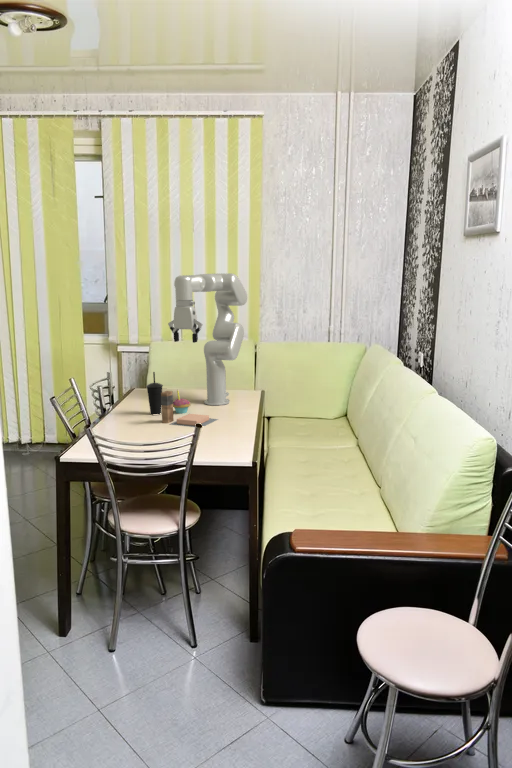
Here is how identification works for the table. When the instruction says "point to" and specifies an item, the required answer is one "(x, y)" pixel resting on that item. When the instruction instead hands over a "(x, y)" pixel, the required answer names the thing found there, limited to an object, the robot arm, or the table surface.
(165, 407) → the banded brown box
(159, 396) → the drinking cup
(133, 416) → the table surface
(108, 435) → the table surface
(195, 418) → the tile
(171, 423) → the mat
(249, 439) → the table surface
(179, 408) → the cupcake
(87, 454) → the table surface
